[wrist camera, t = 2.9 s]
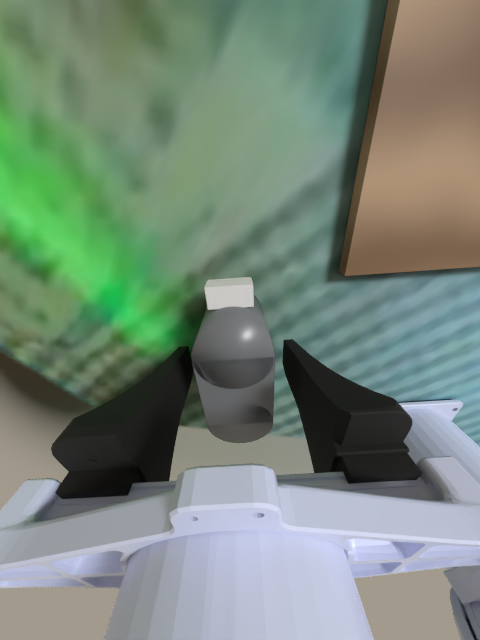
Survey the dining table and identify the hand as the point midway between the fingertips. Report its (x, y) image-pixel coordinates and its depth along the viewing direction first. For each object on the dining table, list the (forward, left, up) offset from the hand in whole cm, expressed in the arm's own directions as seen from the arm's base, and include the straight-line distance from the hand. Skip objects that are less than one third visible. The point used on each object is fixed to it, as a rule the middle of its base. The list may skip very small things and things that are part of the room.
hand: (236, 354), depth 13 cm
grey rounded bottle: (0, 0, -1) cm, 1 cm away
